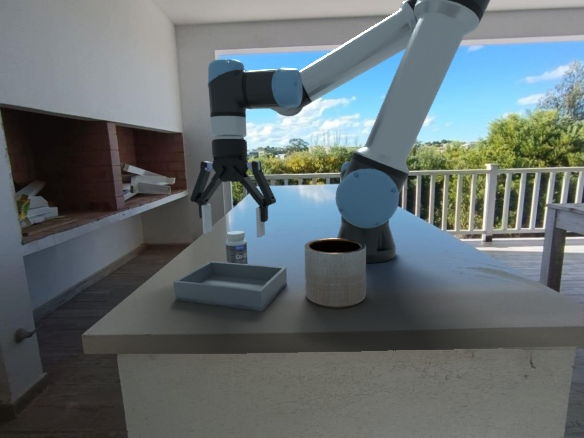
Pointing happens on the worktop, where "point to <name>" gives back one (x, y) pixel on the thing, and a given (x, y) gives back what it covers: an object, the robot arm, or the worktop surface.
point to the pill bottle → (236, 247)
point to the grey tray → (232, 285)
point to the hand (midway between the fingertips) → (233, 234)
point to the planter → (335, 272)
